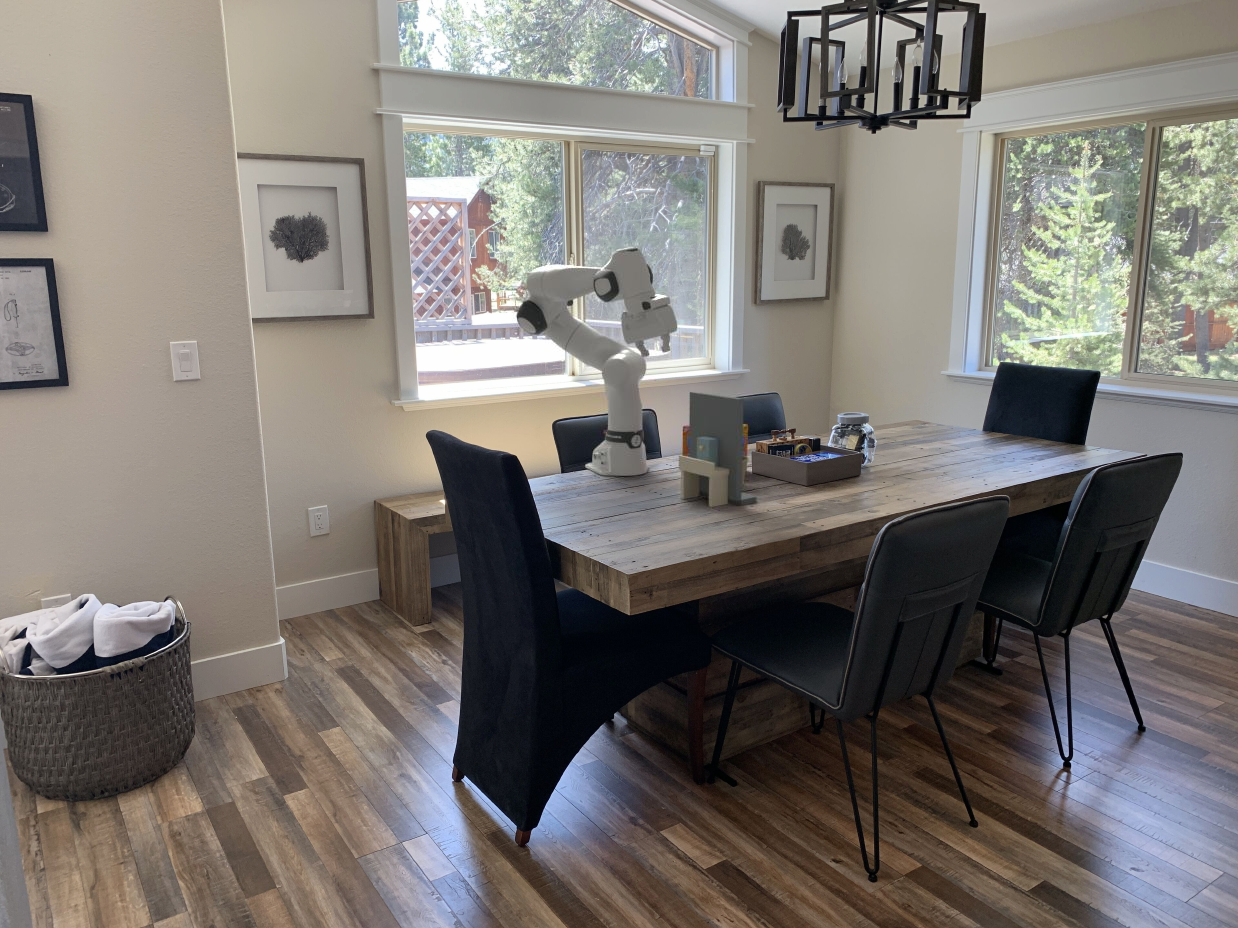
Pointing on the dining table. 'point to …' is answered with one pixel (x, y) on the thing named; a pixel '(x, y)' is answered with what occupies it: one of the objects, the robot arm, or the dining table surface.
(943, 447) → the dining table surface
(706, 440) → the small cabinet
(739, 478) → the wall board
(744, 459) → the flower pot
